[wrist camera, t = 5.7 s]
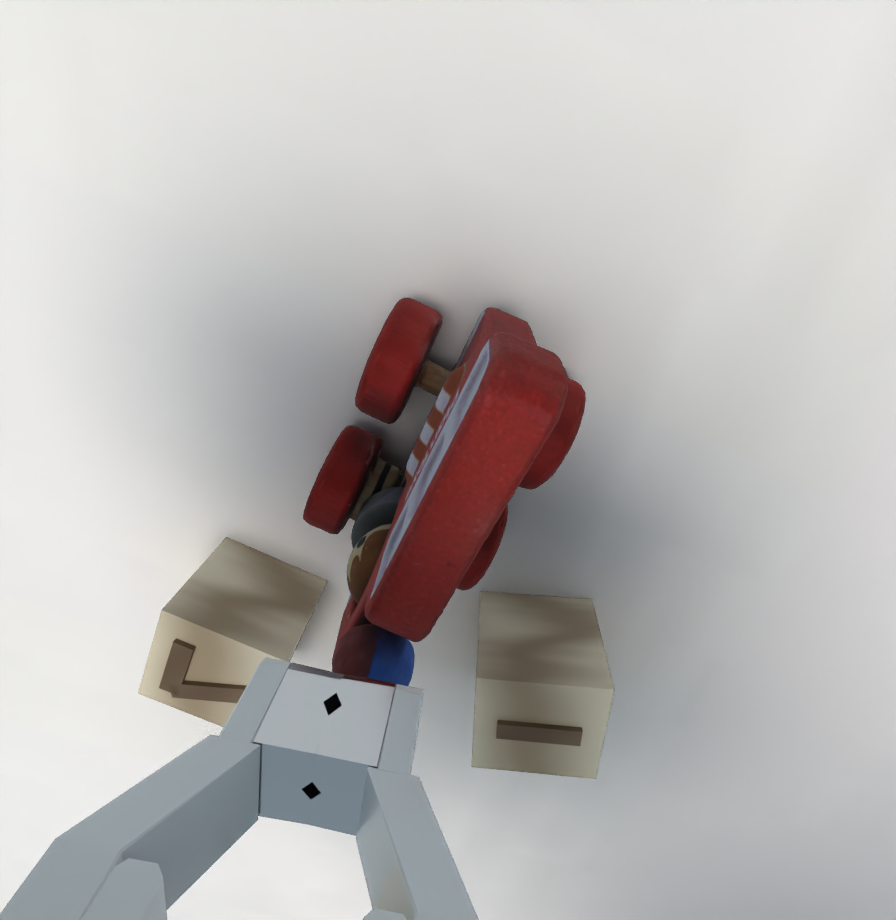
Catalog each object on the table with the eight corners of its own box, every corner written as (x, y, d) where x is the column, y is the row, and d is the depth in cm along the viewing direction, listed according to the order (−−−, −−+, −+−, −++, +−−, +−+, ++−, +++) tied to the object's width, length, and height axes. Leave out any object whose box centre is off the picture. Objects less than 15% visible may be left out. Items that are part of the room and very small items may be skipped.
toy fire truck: (310, 518, 22) (172, 728, 13) (428, 246, 17) (342, 267, 8) (450, 582, 23) (415, 825, 14) (603, 339, 18) (714, 461, 9)
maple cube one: (591, 597, 23) (615, 694, 18) (578, 678, 25) (596, 783, 20) (480, 590, 23) (475, 682, 19) (476, 670, 25) (471, 771, 21)
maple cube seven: (327, 579, 24) (285, 666, 19) (295, 649, 26) (249, 742, 21) (227, 536, 23) (158, 613, 19) (202, 610, 25) (134, 697, 21)
